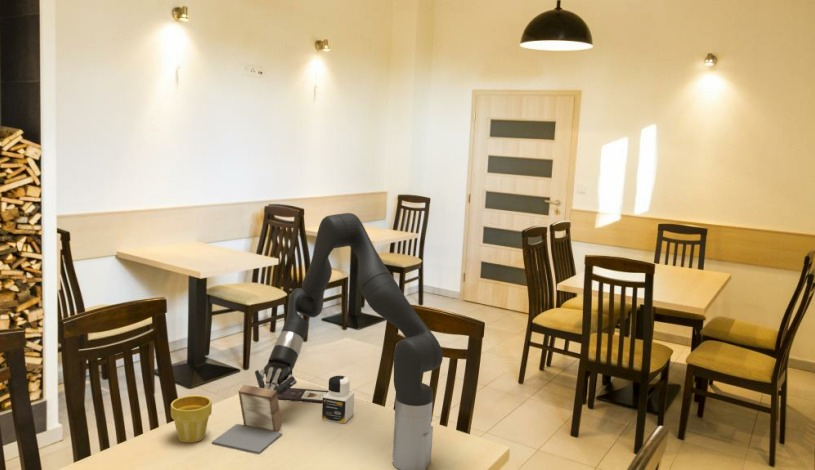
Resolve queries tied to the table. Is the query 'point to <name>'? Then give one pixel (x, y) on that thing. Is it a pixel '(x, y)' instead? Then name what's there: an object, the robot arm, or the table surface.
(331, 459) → the table surface
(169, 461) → the table surface
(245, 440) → the felt mat
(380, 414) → the table surface
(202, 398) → the plant pot
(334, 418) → the medicine bottle
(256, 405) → the walnut tile
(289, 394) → the chocolate bar
